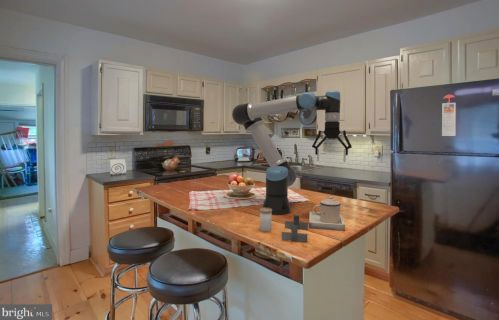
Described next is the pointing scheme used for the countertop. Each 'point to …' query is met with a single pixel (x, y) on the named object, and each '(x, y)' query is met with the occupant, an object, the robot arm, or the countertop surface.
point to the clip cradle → (295, 230)
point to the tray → (318, 224)
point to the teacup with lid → (329, 210)
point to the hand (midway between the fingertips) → (331, 161)
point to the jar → (265, 219)
